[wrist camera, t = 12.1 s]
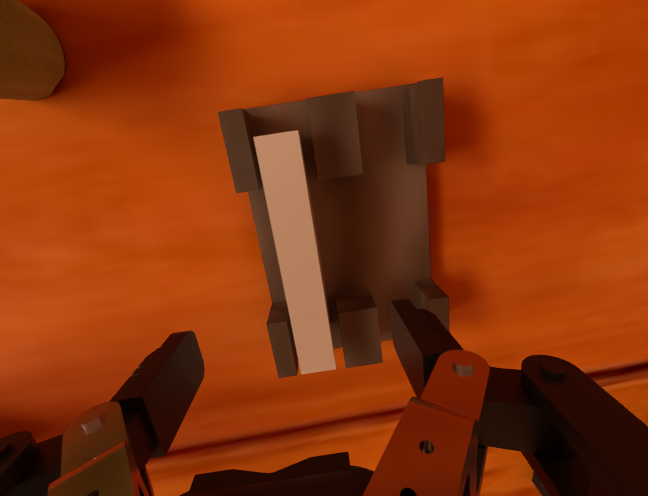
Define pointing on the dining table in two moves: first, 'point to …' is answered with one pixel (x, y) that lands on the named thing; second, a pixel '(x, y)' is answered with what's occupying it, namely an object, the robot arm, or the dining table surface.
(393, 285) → the dark grey holder
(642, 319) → the dining table surface
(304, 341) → the clay strip
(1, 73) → the plant pot
